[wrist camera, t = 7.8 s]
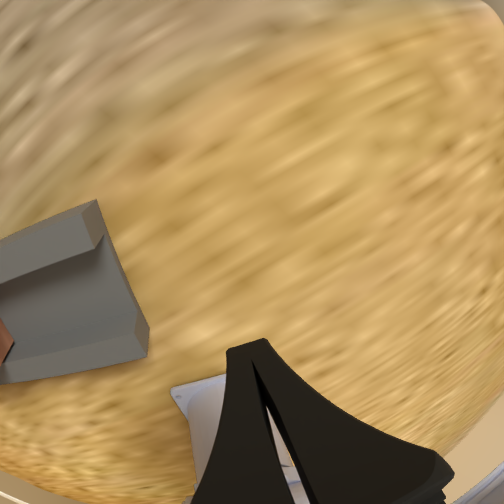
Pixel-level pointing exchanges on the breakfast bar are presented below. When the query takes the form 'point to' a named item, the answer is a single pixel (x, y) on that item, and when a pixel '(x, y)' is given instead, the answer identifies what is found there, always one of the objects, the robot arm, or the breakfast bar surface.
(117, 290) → the chute
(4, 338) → the block
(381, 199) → the breakfast bar surface
